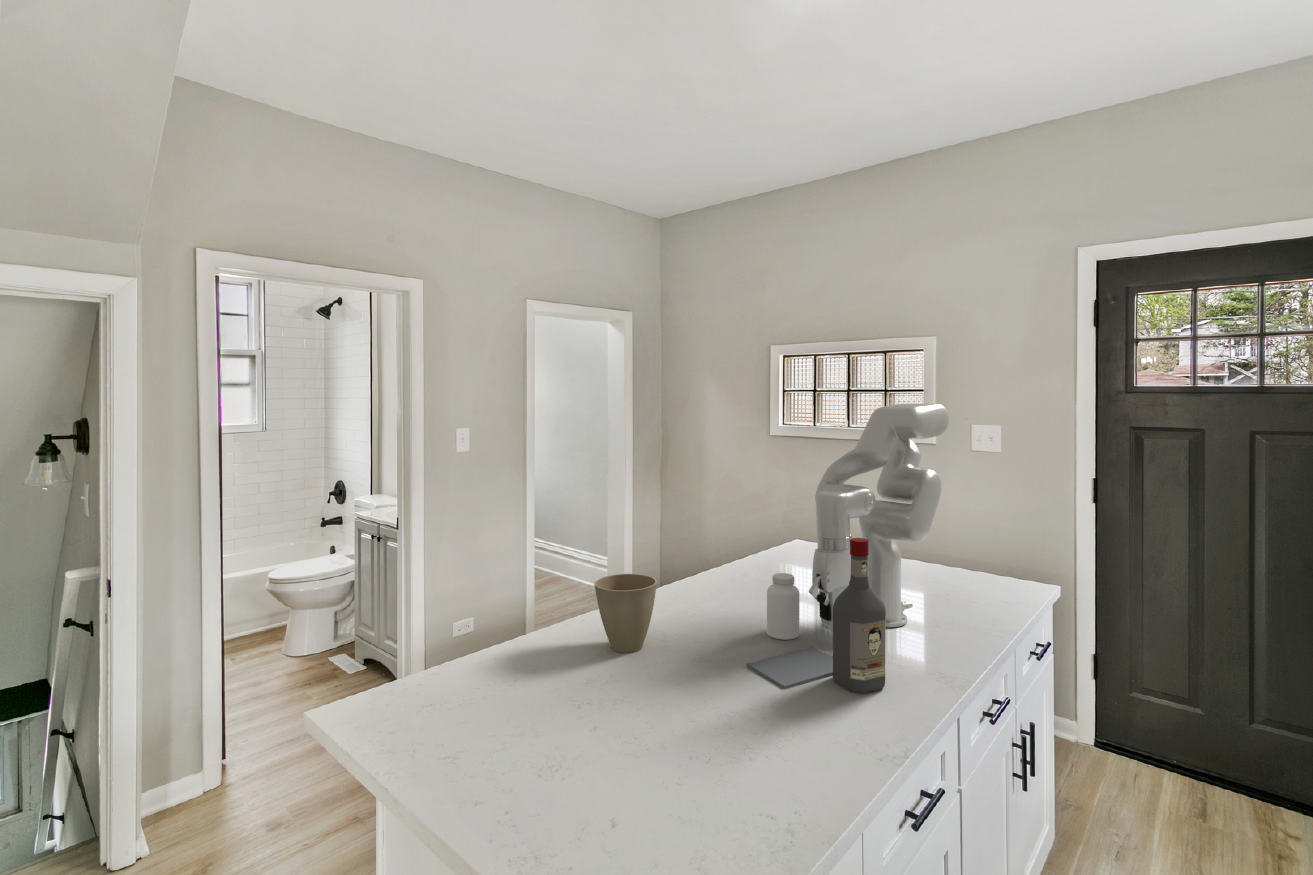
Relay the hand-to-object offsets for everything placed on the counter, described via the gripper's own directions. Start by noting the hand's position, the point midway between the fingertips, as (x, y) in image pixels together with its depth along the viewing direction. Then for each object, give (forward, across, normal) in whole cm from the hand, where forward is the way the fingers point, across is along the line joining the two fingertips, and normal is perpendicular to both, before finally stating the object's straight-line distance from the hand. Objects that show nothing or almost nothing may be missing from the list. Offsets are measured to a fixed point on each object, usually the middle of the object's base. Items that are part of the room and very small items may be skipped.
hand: (836, 615), depth 153 cm
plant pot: (+5, +45, -24) cm, 51 cm away
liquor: (+6, +12, +18) cm, 23 cm away
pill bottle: (+7, +8, -10) cm, 15 cm away
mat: (+6, +17, +6) cm, 19 cm away
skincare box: (+3, 0, 0) cm, 3 cm away
